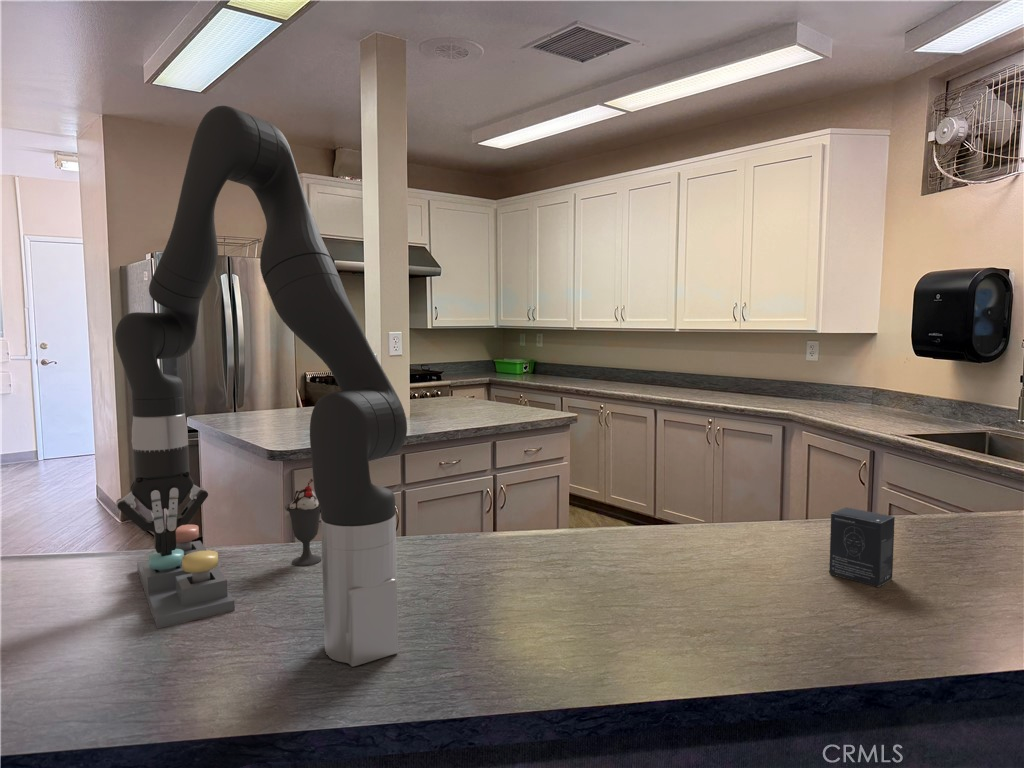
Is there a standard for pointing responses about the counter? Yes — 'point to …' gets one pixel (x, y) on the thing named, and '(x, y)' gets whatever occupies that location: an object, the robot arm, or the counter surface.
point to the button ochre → (200, 564)
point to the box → (862, 546)
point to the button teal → (166, 560)
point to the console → (184, 593)
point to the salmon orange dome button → (186, 536)
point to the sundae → (305, 523)
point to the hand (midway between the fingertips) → (166, 553)
